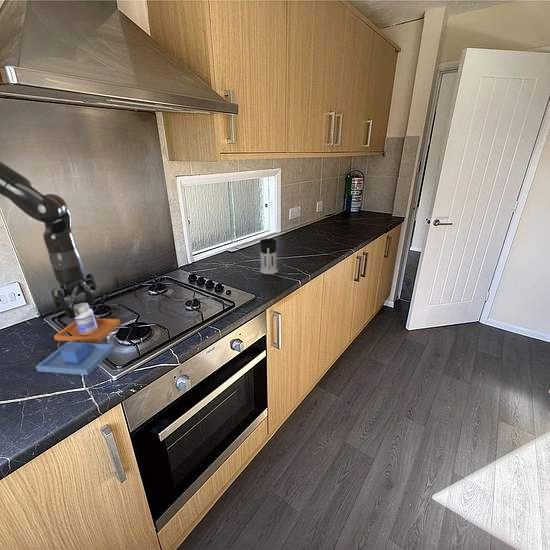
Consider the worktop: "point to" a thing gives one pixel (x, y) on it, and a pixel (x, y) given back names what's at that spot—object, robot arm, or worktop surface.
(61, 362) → the blue tray
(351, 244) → the worktop surface
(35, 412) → the worktop surface
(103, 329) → the amber tray
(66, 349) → the blue block
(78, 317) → the pill bottle
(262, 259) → the glass holder
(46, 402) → the worktop surface
